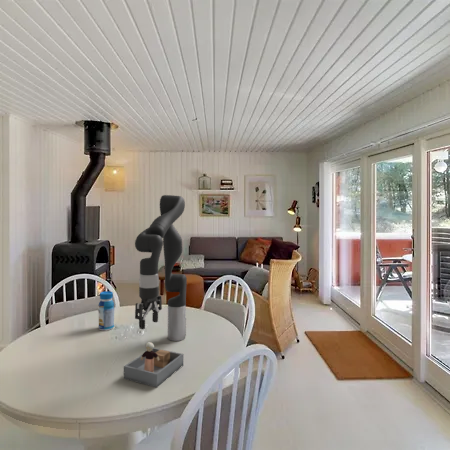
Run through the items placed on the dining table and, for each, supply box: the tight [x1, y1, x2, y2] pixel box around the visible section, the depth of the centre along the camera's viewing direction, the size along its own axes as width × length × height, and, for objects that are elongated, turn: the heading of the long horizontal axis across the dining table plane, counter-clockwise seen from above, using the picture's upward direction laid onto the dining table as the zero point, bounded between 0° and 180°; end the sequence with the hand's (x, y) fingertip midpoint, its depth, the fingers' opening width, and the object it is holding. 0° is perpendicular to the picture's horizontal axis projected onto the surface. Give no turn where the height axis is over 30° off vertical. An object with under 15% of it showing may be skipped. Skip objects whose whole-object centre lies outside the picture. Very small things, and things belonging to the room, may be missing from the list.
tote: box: [123, 347, 184, 388], centre depth 138 cm, size 20×16×5 cm
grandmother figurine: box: [141, 341, 159, 372], centre depth 135 cm, size 8×4×13 cm, turn 94°
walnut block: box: [153, 349, 170, 368], centre depth 143 cm, size 5×5×5 cm
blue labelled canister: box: [97, 290, 115, 331], centre depth 186 cm, size 8×8×20 cm
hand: (148, 325), depth 134 cm, fingers open, 8 cm apart
